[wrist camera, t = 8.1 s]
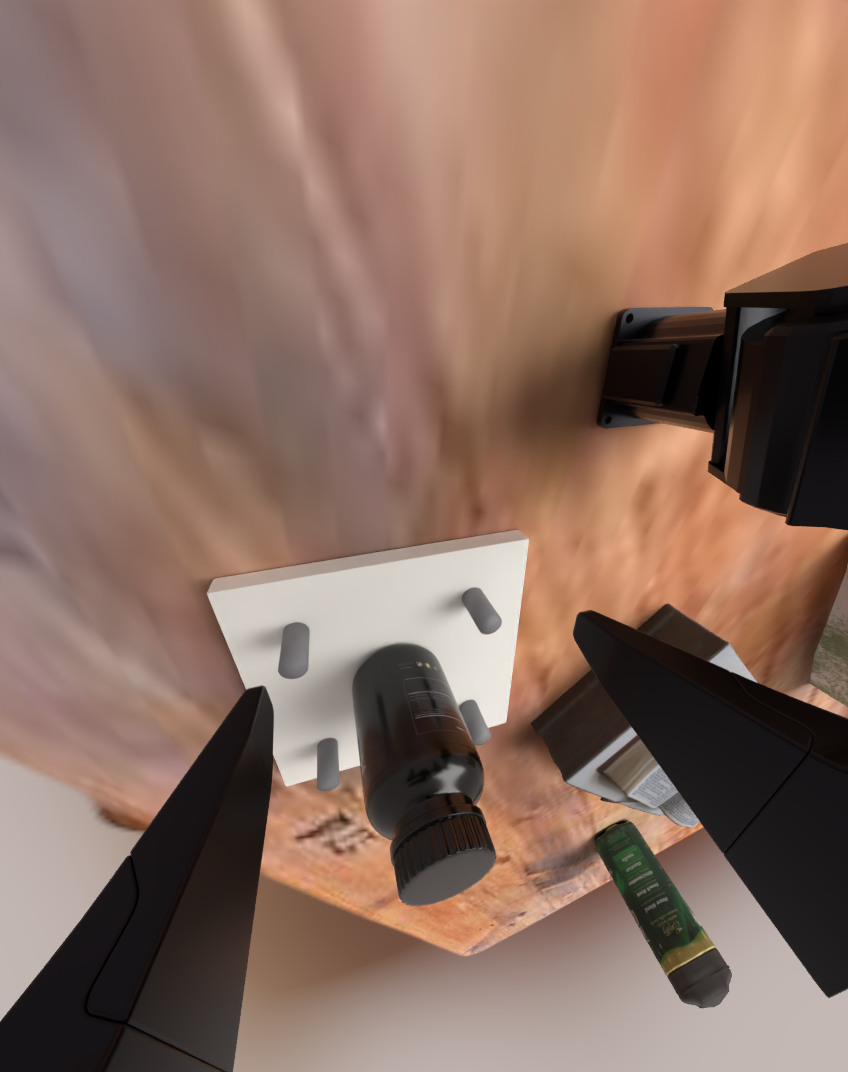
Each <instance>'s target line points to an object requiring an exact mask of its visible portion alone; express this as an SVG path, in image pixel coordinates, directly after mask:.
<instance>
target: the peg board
mask: <svg viewBox="0 0 848 1072" xmlns="http://www.w3.org/2000/svg"><path fill="white" fill-rule="evenodd" d="M528 544H529V538H528V537H526V536H525V535H524V534H523V533H522V532H521V531H520V530H511V531H505V532H499V533H493V534H487V535H480V536H474V537H468V538H462V539H456V540H450V541H443V542H437V543H431V544H425V545H419V546H412V547H406V548H400V549H394V550H388V551H382V552H375V553H369V554H363V555H357V556H351V557H345V558H338V559H332V560H326V561H320V562H314V563H307V564H301V565H295V566H289V567H283V568H277V569H270V570H264V571H258V572H252V573H246V574H239V575H233V576H227V577H221V578H215V579H213V581H212V583H211V585H210V588H209V590H208V592H207V596H208V598H209V600H210V603H211V605H212V608H213V610H214V613H215V615H216V617H217V620H218V622H219V625H220V627H221V630H222V632H223V634H224V637H225V639H226V642H227V644H228V647H229V649H230V651H231V654H232V656H233V659H234V661H235V664H236V666H237V668H238V671H239V673H240V676H241V678H242V681H243V683H244V685H245V688H246V690H247V689H248V688H252V687H256V686H261V685H263V686H265V687H266V689H267V691H268V694H269V697H270V700H271V702H272V705H273V709H274V732H273V756H274V758H275V761H276V763H277V766H278V768H279V770H280V773H281V775H282V778H283V780H284V783H285V785H286V787H287V786H291V785H294V784H297V783H301V782H304V781H308V780H311V779H314V778H317V789H318V790H320V791H329V790H332V789H334V788H336V787H337V786H338V785H339V783H340V777H339V771H342V770H345V769H349V768H352V767H356V766H359V765H360V760H359V751H358V743H357V734H356V725H355V717H354V708H353V698H352V683H353V679H354V676H355V674H356V672H357V671H358V669H359V667H360V666H361V665H362V664H363V663H364V662H365V661H366V660H367V659H368V658H369V657H370V656H372V655H373V654H375V653H376V652H378V651H380V650H382V649H385V648H387V647H390V646H394V645H400V644H413V645H418V646H421V647H424V648H426V649H428V650H429V651H431V652H432V653H433V654H434V655H435V656H436V657H437V659H438V661H439V662H440V665H441V667H442V669H443V671H444V673H445V676H446V678H447V681H448V683H449V685H450V688H451V690H452V693H453V695H454V697H455V700H456V702H457V705H458V707H459V709H460V712H461V714H462V716H463V719H464V721H465V724H466V726H467V728H468V731H469V733H470V736H471V738H472V740H473V743H474V745H482V744H484V743H486V742H487V741H488V740H489V739H490V738H491V734H490V732H489V729H488V728H489V727H492V726H496V725H499V724H503V723H506V719H507V711H508V703H509V695H510V687H511V679H512V671H513V663H514V655H515V647H516V639H517V631H518V623H519V616H520V608H521V600H522V592H523V584H524V576H525V568H526V560H527V552H528Z"/></svg>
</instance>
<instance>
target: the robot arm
mask: <svg viewBox="0 0 848 1072" xmlns="http://www.w3.org/2000/svg"><path fill="white" fill-rule="evenodd" d="M724 307H726V309H724V310H715V311H713V309H712V308H711V307H681V308H629V309H624V310H622V311H621V312H620V313H619V315H618V317H617V321H616V326H615V331H614V336H613V342H612V347H611V352H610V357H609V362H608V367H607V372H606V377H605V383H604V388H603V393H602V398H601V403H600V408H599V413H598V418H597V424H598V426H599V427H603V428H614V427H624V426H635V425H645V424H655V423H664V424H669V425H674V426H679V427H684V428H690V429H695V430H700V431H705V432H710V433H714V436H713V446H712V456H711V461H709V464H708V472H709V473H711V474H712V475H714V476H715V477H717V478H718V479H720V480H721V481H722V482H724V483H725V484H727V485H728V486H730V487H731V488H733V489H734V490H735V491H736V492H738V493H740V496H739V499H740V500H741V501H742V502H744V503H746V504H748V505H751V506H753V507H755V508H758V509H760V510H764V511H768V512H771V513H774V514H777V515H780V516H784V517H786V521H785V523H786V524H787V525H790V526H809V527H827V528H835V529H842V530H848V243H846V244H843V245H839V246H835V247H831V248H827V249H823V250H820V251H816V252H814V253H811V254H809V255H807V256H805V257H802V258H800V259H798V260H796V261H793V262H791V263H789V264H787V265H784V266H782V267H780V268H778V269H776V270H773V271H771V272H769V273H767V274H764V275H762V276H760V277H758V278H756V279H753V280H751V281H749V282H747V283H744V284H742V285H740V286H738V287H736V288H733V289H731V290H729V291H727V292H725V298H724ZM627 315H628V320H627V322H626V317H627ZM606 417H607V421H606V422H605V419H606ZM573 636H574V639H575V641H576V643H577V645H578V646H579V648H580V650H581V651H582V653H583V655H584V657H585V658H586V660H587V662H588V663H589V665H590V667H591V668H592V670H593V672H594V674H595V675H596V677H597V679H598V680H599V682H600V683H601V685H602V686H603V688H604V689H605V691H606V692H607V694H608V695H609V696H610V698H611V699H612V701H613V702H614V703H615V705H616V706H617V708H618V709H619V710H620V712H621V713H622V714H623V716H624V717H625V719H626V720H627V721H628V723H629V724H630V726H631V727H632V728H633V730H634V731H635V732H636V734H637V735H638V737H639V738H640V739H641V741H642V742H643V744H644V745H645V746H646V748H647V749H648V750H649V752H650V753H651V755H652V756H653V757H654V759H655V760H656V762H657V763H658V764H659V766H660V767H661V768H662V770H663V771H664V773H665V774H666V775H667V777H668V778H669V780H670V781H671V782H672V784H673V785H674V787H675V788H676V789H677V791H678V792H679V793H680V795H681V796H682V798H683V799H684V800H685V802H686V803H687V805H688V806H689V807H690V809H691V810H692V811H693V813H694V814H695V816H696V817H697V818H698V820H699V821H700V823H701V824H702V825H703V827H704V828H705V829H706V830H707V832H708V834H709V835H710V836H711V838H712V839H713V840H714V842H715V843H716V845H717V846H718V848H719V849H720V850H721V852H722V853H724V856H725V858H726V859H727V860H728V861H729V863H730V864H731V866H732V867H733V868H734V870H735V871H736V873H737V874H738V876H739V877H740V878H741V880H742V881H743V882H744V884H745V885H746V887H747V888H748V889H749V891H750V892H751V894H752V895H753V896H754V897H755V899H756V900H757V902H758V903H759V905H760V906H761V907H762V909H763V910H764V911H765V913H766V914H767V916H768V917H769V919H770V920H771V921H772V923H773V924H774V925H775V927H776V928H777V929H778V931H779V932H780V934H781V935H782V937H783V938H784V939H785V941H786V942H787V943H788V945H789V946H790V947H791V949H792V950H793V952H794V953H795V955H796V956H797V957H798V959H799V960H800V961H801V963H802V964H803V966H804V967H805V968H806V970H807V971H808V973H809V974H810V975H811V977H812V978H813V980H814V981H815V982H816V983H817V985H818V986H819V987H820V988H821V990H822V991H823V992H824V993H825V995H826V996H827V997H828V998H830V997H832V996H835V995H837V994H839V993H841V992H843V991H845V990H847V989H848V719H847V718H845V717H842V716H840V715H837V714H834V713H832V712H829V711H827V710H824V709H821V708H819V707H816V706H814V705H811V704H808V703H806V702H803V701H801V700H798V699H796V698H793V697H791V696H788V695H786V694H783V693H781V692H778V691H775V690H773V689H771V688H768V687H766V686H764V685H761V684H759V683H757V682H754V681H752V680H750V679H747V678H745V677H743V676H741V675H738V674H736V673H734V672H729V670H727V669H725V668H722V667H720V666H718V665H715V664H713V663H711V662H709V661H706V660H704V659H702V658H700V657H697V656H695V655H693V654H690V653H688V652H686V651H684V650H681V649H679V648H677V647H675V646H672V645H670V644H668V643H665V642H663V641H661V640H659V639H656V638H654V637H652V636H650V635H647V634H645V633H643V632H641V631H638V630H636V629H634V628H631V627H629V626H627V625H625V624H622V623H620V622H618V621H616V620H613V619H611V618H609V617H606V616H604V615H602V614H600V613H597V612H595V611H592V610H588V611H583V612H580V613H578V615H577V617H576V622H575V626H574V631H573ZM273 732H274V709H273V705H272V702H271V700H270V697H269V694H268V691H267V689H266V687H265V686H263V685H261V686H256V687H252V688H248V689H247V690H246V691H245V692H244V693H243V694H242V696H241V697H240V699H239V700H238V701H237V703H236V704H235V706H234V707H233V708H232V710H231V711H230V713H229V714H228V715H227V717H226V718H225V720H224V721H223V722H222V724H221V725H220V727H219V728H218V730H217V731H216V732H215V734H214V735H213V737H212V738H211V739H210V741H209V742H208V744H207V745H206V746H205V748H204V749H203V751H202V752H201V753H200V755H199V756H198V758H197V759H196V760H195V762H194V763H193V765H192V766H191V767H190V769H189V770H188V772H187V773H186V774H185V776H184V777H183V779H182V780H181V781H180V783H179V784H178V786H177V787H176V788H175V790H174V791H173V793H172V794H171V795H170V797H169V798H168V800H167V801H166V803H165V804H164V805H163V807H162V808H161V810H160V811H159V812H158V814H157V815H156V817H155V818H154V819H153V821H152V822H151V824H150V825H149V826H148V828H147V829H146V831H145V832H144V833H143V835H142V836H141V838H140V839H139V840H138V842H137V843H136V845H135V846H134V847H133V849H132V851H131V856H127V857H126V858H125V860H124V861H123V863H122V864H121V865H120V867H119V868H118V870H117V871H116V872H115V874H114V876H113V877H112V878H111V879H110V881H109V882H108V884H107V885H106V886H105V888H104V889H103V890H102V892H101V893H100V894H99V896H98V897H97V899H96V900H95V901H94V903H93V904H92V906H91V907H90V908H89V910H88V911H87V912H86V913H85V915H84V916H83V918H82V919H81V920H80V922H79V923H78V924H77V925H76V927H75V928H74V929H73V931H72V932H71V933H70V934H69V936H68V937H67V938H66V940H65V941H64V942H63V944H62V945H61V946H60V947H59V949H58V950H57V951H56V952H55V954H54V955H53V956H52V957H51V959H50V960H49V961H48V963H47V964H46V965H45V966H44V968H43V969H42V970H41V971H40V973H39V974H38V975H37V977H36V978H35V979H34V980H33V981H32V983H31V984H30V985H29V986H28V988H27V989H26V990H25V991H24V993H23V994H22V995H21V996H20V998H19V999H18V1000H17V1002H16V1003H15V1004H14V1005H13V1006H12V1008H11V1009H10V1010H9V1011H8V1013H7V1014H6V1015H5V1016H4V1018H3V1019H2V1020H1V1021H0V1072H233V1066H234V1059H235V1051H236V1044H237V1037H238V1030H239V1022H240V1015H241V1007H242V1000H243V992H244V985H245V977H246V970H247V963H248V956H249V948H250V940H251V934H252V925H253V919H254V911H255V904H256V896H257V889H258V882H259V875H260V867H261V860H262V852H263V845H264V838H265V830H266V823H267V816H268V808H269V801H270V793H271V785H272V770H273Z"/></svg>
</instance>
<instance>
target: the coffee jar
mask: <svg viewBox="0 0 848 1072" xmlns="http://www.w3.org/2000/svg"><path fill="white" fill-rule="evenodd" d="M596 848H597V851H598V853H599V855H600V857H601V858H602V860H603V862H604V864H605V866H606V868H607V870H608V871H609V873H610V875H611V877H612V878H613V880H614V882H615V884H616V886H617V887H618V889H619V891H620V893H621V895H622V897H623V899H624V900H625V902H626V904H627V906H628V908H629V910H630V911H631V913H632V915H633V917H634V919H635V921H636V923H637V924H638V926H639V928H640V930H641V931H642V933H643V935H644V937H645V939H646V940H647V942H648V944H649V945H650V947H651V949H652V951H653V953H654V955H655V956H656V958H657V960H658V962H659V963H660V965H661V967H662V969H663V970H664V972H665V974H666V976H667V977H668V979H669V981H670V982H671V984H672V985H673V987H674V989H675V991H676V993H677V994H678V995H679V998H680V999H681V1001H682V1002H684V1003H686V1004H691V1005H696V1006H698V1007H699V1008H707V1007H715V1006H717V1005H719V1004H720V1003H721V1002H722V1000H723V999H724V997H725V996H726V995H727V993H728V992H729V983H730V980H731V977H732V973H731V971H730V969H729V966H728V965H727V964H726V962H725V961H724V959H723V958H722V956H721V955H720V953H719V952H718V950H717V949H716V947H715V945H714V944H713V942H712V941H711V939H710V938H709V936H708V935H707V933H706V932H705V930H704V929H703V927H702V926H701V924H700V923H699V921H698V920H697V918H696V917H695V915H694V914H693V912H692V911H691V909H690V908H689V906H688V905H687V903H686V902H685V900H684V899H683V897H682V896H681V894H680V893H679V891H678V890H677V888H676V887H675V885H674V884H673V882H672V881H671V879H670V878H669V877H668V875H667V874H666V872H665V870H664V869H663V868H662V866H661V864H660V863H659V861H658V860H657V858H656V857H655V855H654V854H653V852H652V851H651V849H650V847H649V846H648V844H647V843H646V841H645V840H644V838H643V837H642V835H641V834H640V832H639V831H638V829H637V828H636V826H635V825H634V824H633V823H631V822H629V821H627V822H625V823H622V824H619V825H617V824H615V825H613V826H611V827H609V828H608V829H607V830H606V832H605V833H604V834H603V835H601V836H599V837H598V838H597V839H596Z"/></svg>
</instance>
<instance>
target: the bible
mask: <svg viewBox="0 0 848 1072" xmlns="http://www.w3.org/2000/svg"><path fill="white" fill-rule="evenodd" d="M637 630H638V631H641V632H643V633H645V634H647V635H650V636H652V637H654V638H656V639H659V640H661V641H663V642H665V643H668V644H670V645H672V646H675V647H677V648H679V649H681V650H684V651H686V652H688V653H690V654H693V655H695V656H697V657H700V658H702V659H704V660H706V661H709V662H711V663H713V664H715V665H718V666H720V667H722V668H725V669H727V670H729V672H734V673H736V674H738V675H741V676H743V677H745V678H747V679H750V680H752V681H754V682H757V681H756V680H755V679H754V677H753V676H752V675H751V673H750V672H749V671H748V669H747V668H746V667H745V665H744V664H743V663H742V661H741V659H740V658H739V657H738V655H737V654H736V653H735V651H734V649H733V648H732V646H731V645H730V643H729V642H727V641H725V640H723V639H722V638H720V637H718V636H717V635H715V634H713V633H712V632H710V631H709V630H707V629H706V628H705V627H703V626H702V625H700V624H698V623H697V622H695V621H694V620H692V619H690V618H689V617H687V616H686V615H684V614H683V613H681V612H680V611H678V610H677V609H676V608H674V607H673V606H672V605H670V604H666V605H665V606H663V607H662V608H661V609H660V610H659V611H658V612H657V613H656V614H654V615H653V616H652V617H651V618H650V619H649V620H648V621H646V622H645V623H644V624H643V625H642V626H641V627H640V628H639V629H637ZM757 683H758V682H757ZM531 725H532V726H533V728H534V730H535V732H536V733H537V734H538V735H539V736H541V737H542V738H543V740H544V741H545V743H546V745H547V747H548V748H549V751H550V754H551V756H552V758H553V760H554V762H555V764H556V765H557V766H558V768H559V769H560V771H561V773H562V777H563V780H564V781H565V782H566V783H567V784H569V785H571V786H574V787H576V788H579V789H582V790H584V791H587V792H589V793H592V794H595V795H597V796H600V797H602V798H601V799H600V800H602V801H605V802H612V803H619V804H622V805H625V806H627V807H630V808H633V809H637V810H640V811H643V812H647V813H651V814H654V815H659V816H663V815H666V816H667V817H668V818H669V819H670V820H672V821H673V822H674V823H676V824H677V825H680V826H685V827H689V828H693V827H695V826H696V825H697V824H698V823H699V822H700V821H699V820H698V818H697V817H696V816H695V814H694V813H693V811H692V810H691V809H690V807H689V806H688V805H687V803H686V802H685V800H684V799H683V798H682V796H681V795H680V793H679V792H678V791H677V789H676V788H675V787H674V785H673V784H672V782H671V781H670V780H669V778H668V777H667V775H666V774H665V773H664V771H663V770H662V768H661V767H660V766H659V764H658V763H657V762H656V760H655V759H654V757H653V756H652V755H651V753H650V752H649V750H648V749H647V748H646V746H645V745H644V744H643V742H642V741H641V739H640V738H639V737H638V735H637V734H636V732H635V731H634V730H633V728H632V727H631V726H630V724H629V723H628V721H627V720H626V719H625V717H624V716H623V714H622V713H621V712H620V710H619V709H618V708H617V706H616V705H615V703H614V702H613V701H612V699H611V698H610V696H609V695H608V694H607V692H606V691H605V689H604V688H603V686H602V685H601V683H600V682H599V680H598V679H597V677H596V675H595V674H594V672H593V670H591V671H590V672H589V673H587V674H586V675H585V676H584V677H583V678H582V679H581V680H580V681H579V682H578V683H576V684H575V685H574V686H573V687H572V688H570V689H569V690H568V691H567V692H566V693H565V694H563V695H562V696H561V697H560V698H559V699H558V700H557V701H556V702H555V703H554V704H553V705H551V706H550V707H549V708H548V709H547V710H545V711H544V712H543V713H542V714H541V715H540V716H539V717H538V718H536V719H535V720H534V721H533V722H532V723H531Z"/></svg>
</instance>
